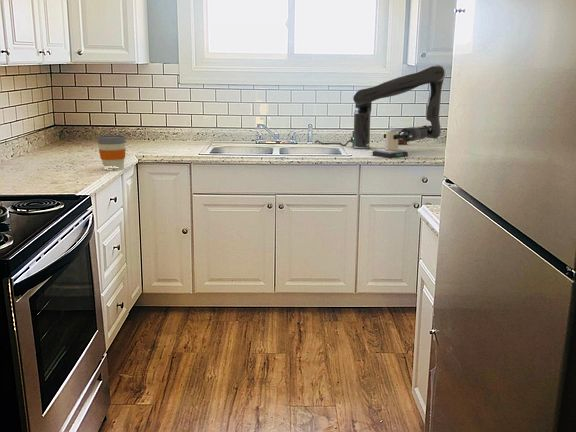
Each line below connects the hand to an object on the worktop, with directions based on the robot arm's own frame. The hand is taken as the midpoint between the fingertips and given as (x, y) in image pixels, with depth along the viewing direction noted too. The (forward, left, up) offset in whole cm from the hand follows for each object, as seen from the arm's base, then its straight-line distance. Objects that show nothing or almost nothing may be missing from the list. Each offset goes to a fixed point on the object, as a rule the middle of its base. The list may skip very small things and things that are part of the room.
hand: (389, 136), depth 322 cm
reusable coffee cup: (-52, -129, -10) cm, 139 cm away
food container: (-30, +39, -10) cm, 51 cm away
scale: (0, +1, -10) cm, 10 cm away
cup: (0, +2, -7) cm, 7 cm away
